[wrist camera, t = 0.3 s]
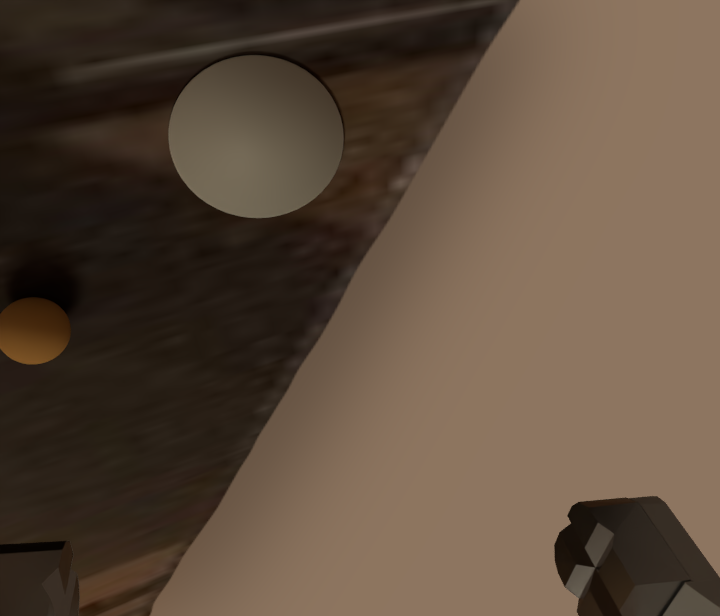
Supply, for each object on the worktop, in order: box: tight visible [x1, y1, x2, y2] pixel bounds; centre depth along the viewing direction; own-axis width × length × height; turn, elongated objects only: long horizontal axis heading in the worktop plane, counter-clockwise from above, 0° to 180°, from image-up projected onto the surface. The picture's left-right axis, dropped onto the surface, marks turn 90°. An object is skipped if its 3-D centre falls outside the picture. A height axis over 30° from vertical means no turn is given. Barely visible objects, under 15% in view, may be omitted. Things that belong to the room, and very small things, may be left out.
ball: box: [0, 297, 71, 364], centre depth 52 cm, size 6×6×6 cm
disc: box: [169, 55, 344, 218], centre depth 47 cm, size 13×13×1 cm
